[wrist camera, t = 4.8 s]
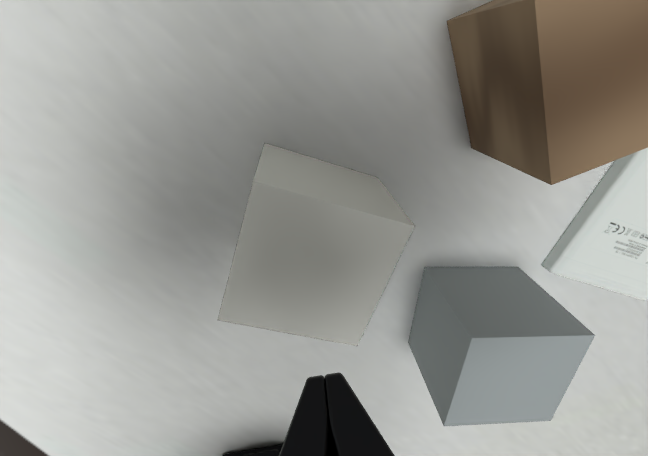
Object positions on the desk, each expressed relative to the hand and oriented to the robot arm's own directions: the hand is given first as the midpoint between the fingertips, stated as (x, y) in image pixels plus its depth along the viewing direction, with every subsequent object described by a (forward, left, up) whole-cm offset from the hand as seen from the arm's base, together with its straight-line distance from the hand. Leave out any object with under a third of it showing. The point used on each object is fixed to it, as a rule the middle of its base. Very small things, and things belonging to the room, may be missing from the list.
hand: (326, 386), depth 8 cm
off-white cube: (0, 0, -11) cm, 11 cm away
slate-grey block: (-8, -9, -11) cm, 16 cm away
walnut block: (+6, -11, -11) cm, 17 cm away
